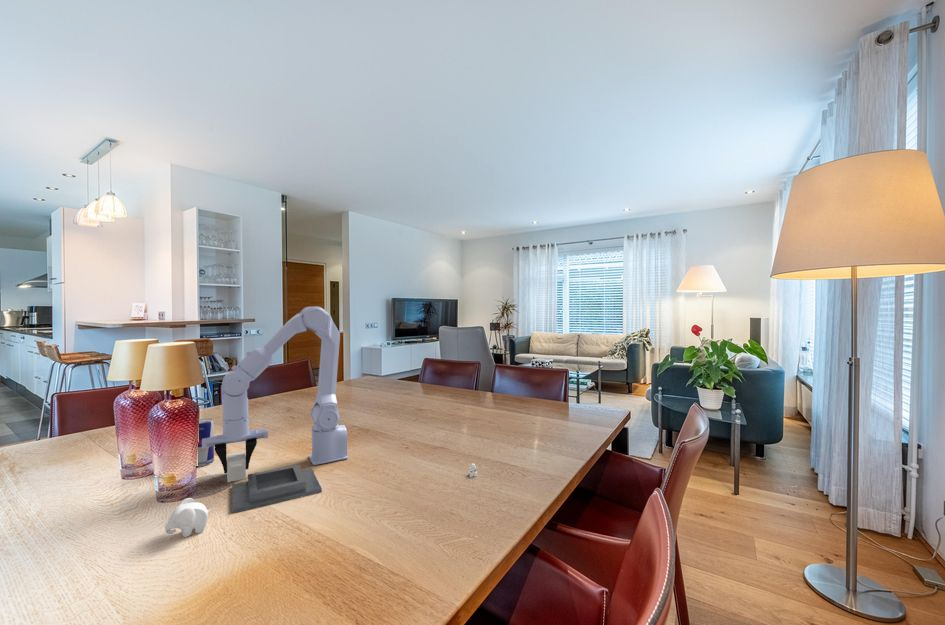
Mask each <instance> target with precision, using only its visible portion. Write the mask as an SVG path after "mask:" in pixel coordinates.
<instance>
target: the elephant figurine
mask: <svg viewBox="0 0 945 625" xmlns="http://www.w3.org/2000/svg"><path fill="white" fill-rule="evenodd" d="M213 509H215V506H214V507H212V508H211V509H207V507H206V505H205V504H204V503H202V502H196V501H195V500H194V499H193V498H192V497H189V498H184V499H183V500H181V501H180V502H179V504H178V505H177V507H175V509H173V511H172V512H171V515H170V517H169V519H168V521H167V522H166V524H165V527H164V529H165V531H164V533H166V534H167V535H173V534H175V533H176V531H177V529H179V530H180V531H181V533H182V537H184V538H188V537H189V536H191V535H192V532H193V529H194V531H195V534H201V533H203V532H204V531H205V528H206V527H207V523H208V518H209V515H208V514H209V512H211V511H212V510H213Z"/></svg>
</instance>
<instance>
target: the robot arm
mask: <svg viewBox="0 0 945 625" xmlns="http://www.w3.org/2000/svg"><path fill="white" fill-rule="evenodd" d="M307 330H310V331H312V332H313V333H314V334H315V335H316V336H317V337H318V338H319V339H321V345H320V357H319V358H320V359H319V367H318V368H319V369H318V382H317V392H316V397H315V400H314V401H315V402H314V405H313V407H311V410H310V417H311V419H312V420H313V421H314V423H313V425H312V427H311V454H309V455H308V459H309V460H310V462H311V464H312V466H317V465H323V464H328V463H331V462H336V461H342V460H347V459H348V458H349V456H348V432H347V427H346V425H344V424H339V422H340V419H341V417H340V415H341V414H340V413H339V409H338V400H337V395H336V393H337V382H338V380H337V379H338V370H339V368H338V367H339V354H340V343H341V342H340V341H341V333H340V331H339V329H338V328H337V326H336V324H335V322H334V321H333V318H332V315H331V314H330V313H329V312H327V310H326V309H324V308H322V307H320V306H306V307H304V308H302V310H300V311H299V312H298V313H296V314H295V315H294V316H292V317H291V318H290V319H289V320H288V321H286V323H284V325H283V326H282V327H281V328H280V329H279V330H278V331H277V332H275V334H274V335H273V336H272V337H271V338H270V339H269V340H268V341H267V342H266V344H265V345H264V346H262V347H255V348H253V349H252V350H250V349H249V350H248V351H247V352H245V355H246V356H245V357H244V358H243V359H242V360H240V362H239V363H237V365H235V364H234V365H233V366H232V367H231V370H232V371H229V372H227V373H225V374H224V375H225V376H224V377H223V378H222V382H221V385H222V386H221V387H222V390H223V394H222V398H223V401H222V434H219V435H214V437H209V438H204V439H202V448H207V447H210V446H214V453H215V454H216V455H217V457H218V458H219V460H220V463H221V465H222V468H223V473H224V474H227V445H228V444H233V443H239V442H245V458H246V470H249V467H250V462H251V458H252V456H253V453H254V451H255V448H256V446H257V445H258V444H257V443H258V441H257V440H259V439H268V438H269V430H268V428H266V429H256V430H255V429H254V430H253V429H252V430H250V427H249V425H250V424H249V423H250V422H249V419H250V417H249V416H250V415H249V398H248V391H249V388H250V382H252V381H255V380H256V379H257V378H258V377H259V376H260V375H261V374H262V373H263V372H264V371H265V370H266V369H267V368H268V367H269V366H270V365H271V364H272V363H273V355H274V354H275V353H276V352H277V351H278V350H279V349H280V348H281V347H283V346H284V345H285V344H286V343H287V342H288V341H289V340H290V339H292V337H294V336H295V335H296V334H300V333H304V332H307Z"/></svg>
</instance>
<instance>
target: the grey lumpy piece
mask: <svg viewBox="0 0 945 625" xmlns="http://www.w3.org/2000/svg"><path fill="white" fill-rule="evenodd" d="M468 465H469V466H470V467H469V470H468V471H467V476H469V478H473V477H475V478H476V477H478V472H477V471H478V470H477V466H476V464H475V463H472V462H471V464H470V463H468Z"/></svg>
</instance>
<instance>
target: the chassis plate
mask: <svg viewBox="0 0 945 625" xmlns="http://www.w3.org/2000/svg"><path fill="white" fill-rule="evenodd" d="M322 489H323V488H322V486H321V484H320V482H319V480H318V478H317V476H316V474H315V473H314V470H313V468H312V467H310V468H305V469H301V467H300V465H299V464H294V465H289V466H284V467H279V468H274V469H269V470H264V471H260V472H254V473H253V472H252V473H249V474H247V480H246V481H241V482H237V483H233V484H231V493H232V494H231V495H232V496H231V497H232V498H231V499H232V500H231V504H232V506H231V508H232V510H231V511H232V512H231V513H232V514H236V513H239V512H240V513H241V512H243V511H247V510H252V509H257V508H260V507H264V506H269V505H273V504H277V503H280V502H285V501H289V500H294V499H297V498H298V499H299V498H302V497H306V496H310V494H311V495H315V494H318V492H319V493H322V492H323V490H322ZM314 493H315V494H314ZM305 495H306V496H305ZM301 496H302V497H301Z"/></svg>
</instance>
